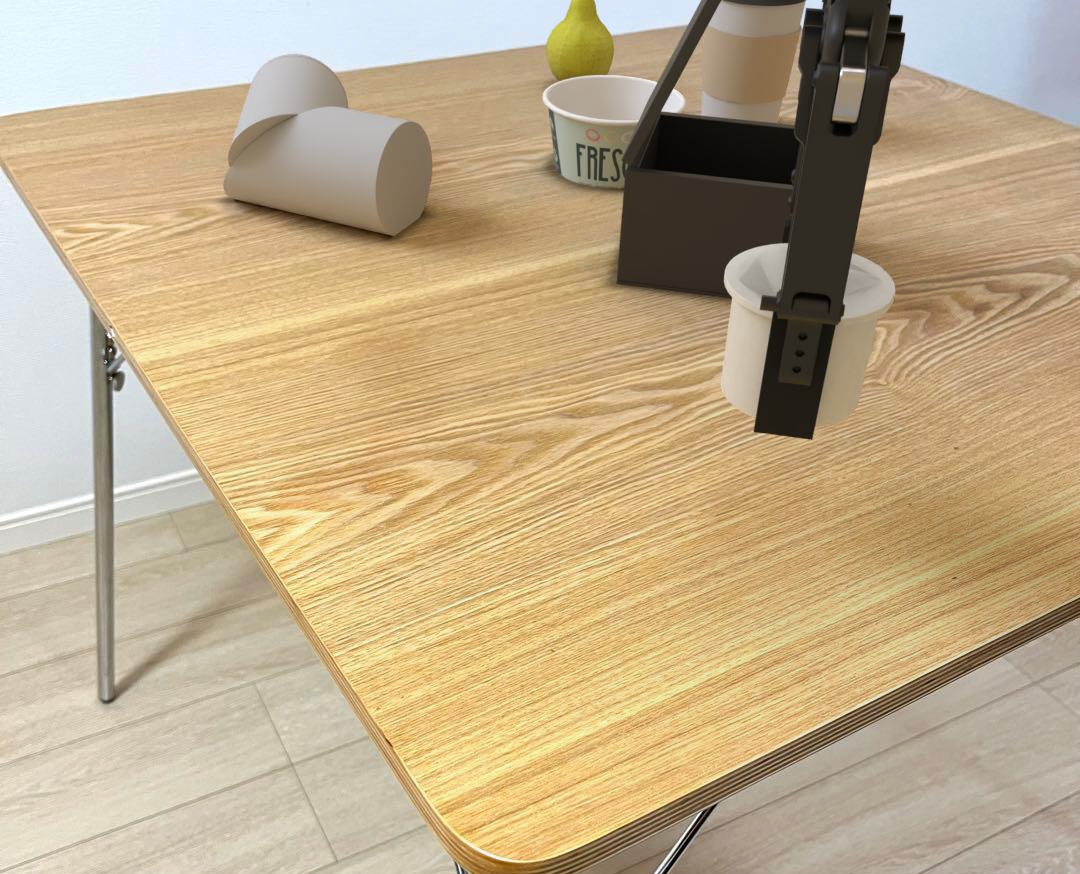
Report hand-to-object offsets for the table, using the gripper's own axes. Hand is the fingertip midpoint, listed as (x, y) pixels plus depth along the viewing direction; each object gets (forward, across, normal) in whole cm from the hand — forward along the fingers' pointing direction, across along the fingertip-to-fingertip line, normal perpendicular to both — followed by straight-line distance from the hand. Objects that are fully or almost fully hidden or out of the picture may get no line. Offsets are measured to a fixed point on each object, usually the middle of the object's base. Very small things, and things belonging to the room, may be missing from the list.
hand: (787, 384), depth 56 cm
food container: (+8, -46, -16) cm, 49 cm away
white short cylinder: (0, 0, 0) cm, 0 cm away
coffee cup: (+9, -59, -6) cm, 60 cm away
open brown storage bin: (+8, -30, -4) cm, 32 cm away
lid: (-8, -30, -8) cm, 33 cm away
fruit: (+9, -68, -23) cm, 72 cm away
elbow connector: (+8, -35, -38) cm, 52 cm away
